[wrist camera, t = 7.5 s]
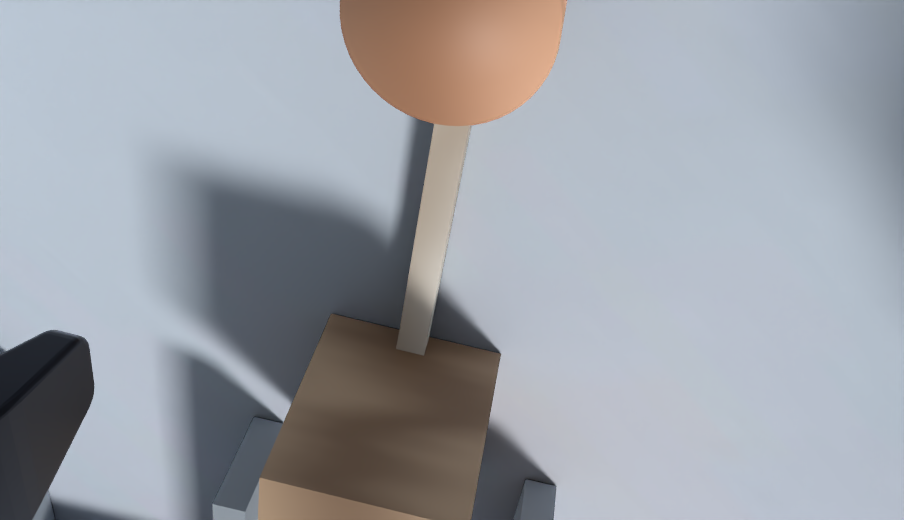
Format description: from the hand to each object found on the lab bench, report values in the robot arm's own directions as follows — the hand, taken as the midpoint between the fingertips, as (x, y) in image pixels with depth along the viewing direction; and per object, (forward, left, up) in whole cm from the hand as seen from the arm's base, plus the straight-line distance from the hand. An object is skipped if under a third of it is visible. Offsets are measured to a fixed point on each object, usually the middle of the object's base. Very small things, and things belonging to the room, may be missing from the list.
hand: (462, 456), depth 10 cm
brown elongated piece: (+2, +5, -12) cm, 13 cm away
